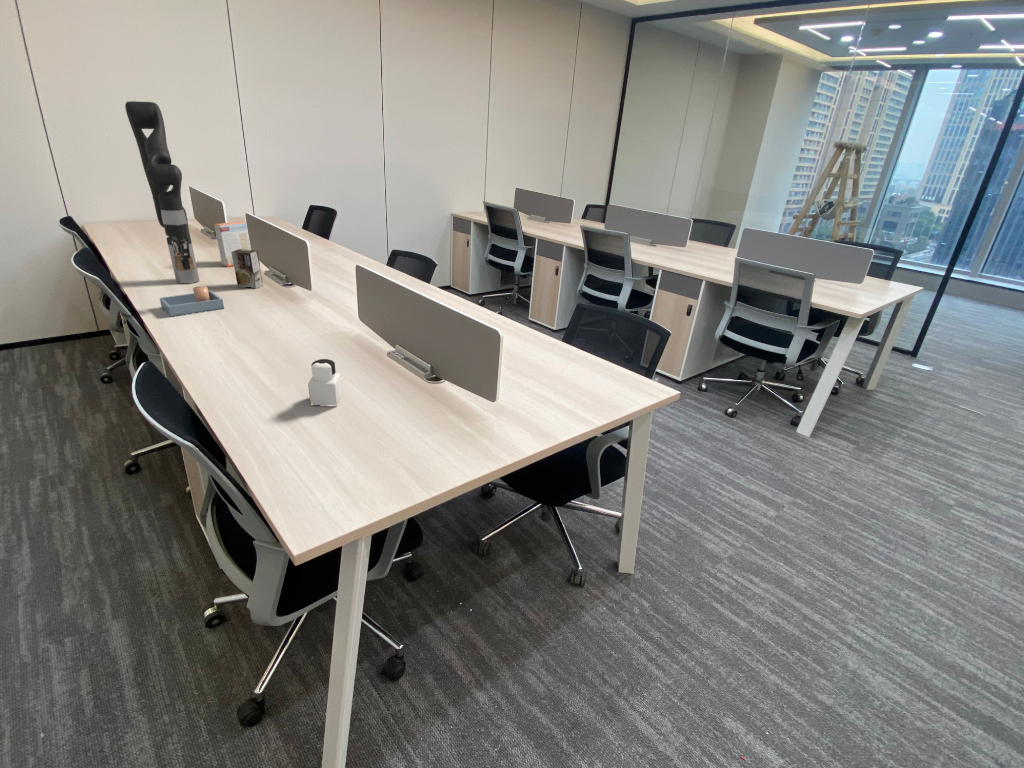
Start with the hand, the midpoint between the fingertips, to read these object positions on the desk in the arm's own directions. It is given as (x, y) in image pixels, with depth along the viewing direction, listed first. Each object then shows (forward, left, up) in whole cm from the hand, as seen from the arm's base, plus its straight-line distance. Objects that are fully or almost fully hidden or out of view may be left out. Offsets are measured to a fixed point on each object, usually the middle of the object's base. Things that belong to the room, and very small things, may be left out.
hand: (184, 267), depth 197 cm
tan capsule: (+1, +4, -15) cm, 16 cm away
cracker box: (-62, +38, -16) cm, 74 cm away
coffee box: (-19, +29, -16) cm, 38 cm away
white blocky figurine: (+103, +6, -16) cm, 104 cm away
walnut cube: (0, 0, 0) cm, 0 cm away
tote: (+1, 0, -16) cm, 16 cm away
